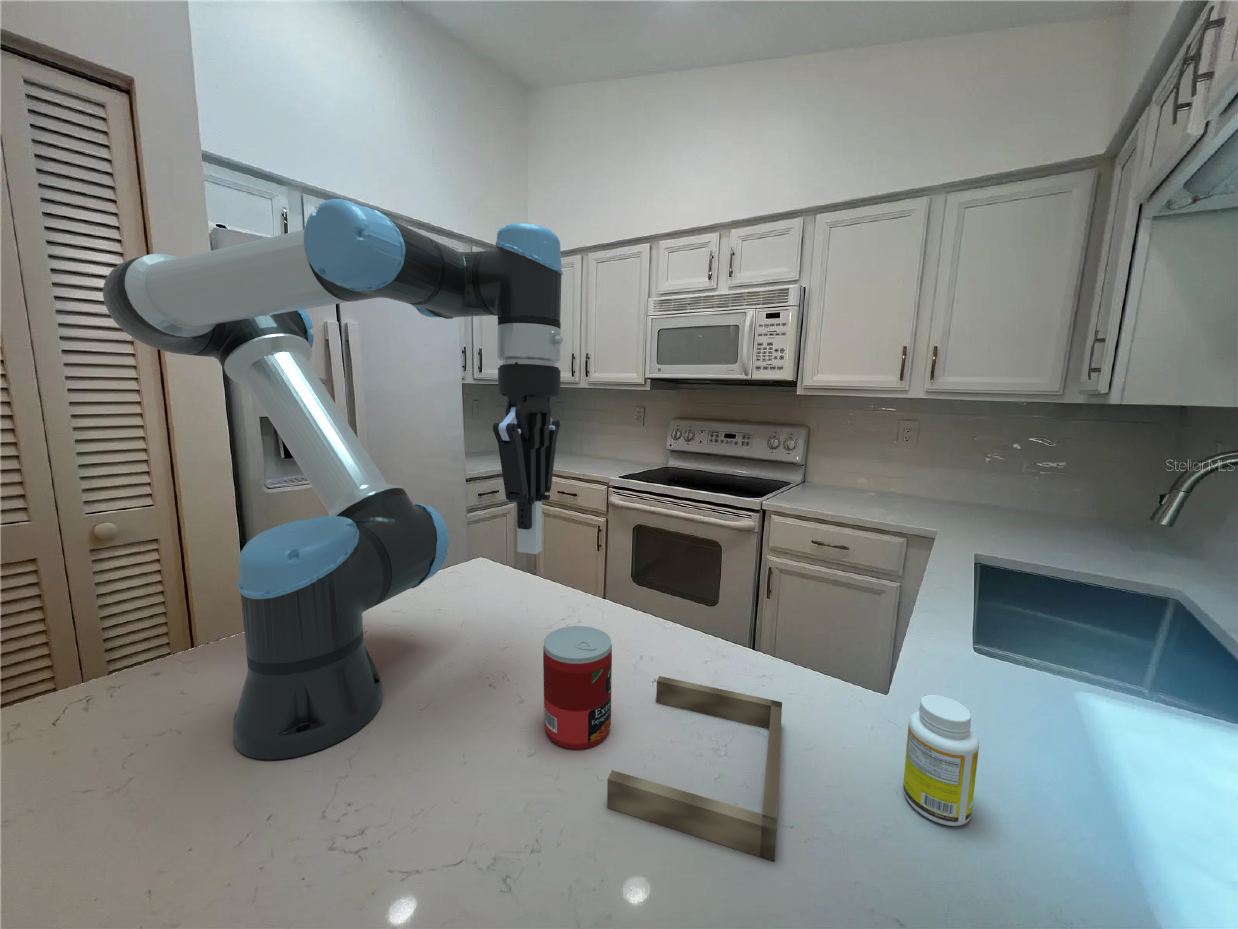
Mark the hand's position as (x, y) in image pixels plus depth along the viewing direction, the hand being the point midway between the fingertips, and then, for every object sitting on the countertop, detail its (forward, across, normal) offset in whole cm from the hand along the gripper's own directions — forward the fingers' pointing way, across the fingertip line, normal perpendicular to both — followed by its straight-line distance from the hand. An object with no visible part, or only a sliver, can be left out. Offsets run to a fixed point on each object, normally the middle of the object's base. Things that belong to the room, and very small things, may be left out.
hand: (529, 551), depth 61 cm
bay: (+19, -5, -25) cm, 32 cm away
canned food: (+19, -5, -9) cm, 22 cm away
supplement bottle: (+19, -4, -46) cm, 50 cm away
